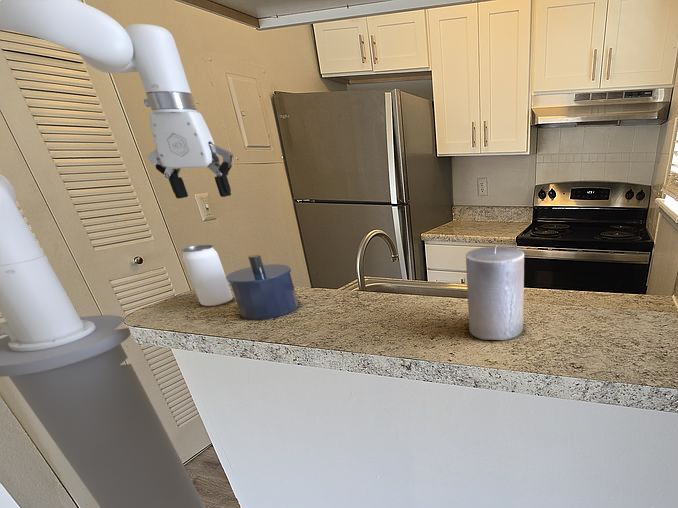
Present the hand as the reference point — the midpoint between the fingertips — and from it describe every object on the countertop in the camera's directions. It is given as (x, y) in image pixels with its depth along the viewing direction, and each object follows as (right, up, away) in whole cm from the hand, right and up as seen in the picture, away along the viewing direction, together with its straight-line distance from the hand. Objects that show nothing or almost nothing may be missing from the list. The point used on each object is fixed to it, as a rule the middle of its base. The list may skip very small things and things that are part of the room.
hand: (204, 196), depth 89 cm
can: (+2, -23, +2) cm, 23 cm away
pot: (+16, -25, -3) cm, 30 cm away
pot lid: (+16, -19, -7) cm, 26 cm away
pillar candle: (+64, -31, -16) cm, 72 cm away
